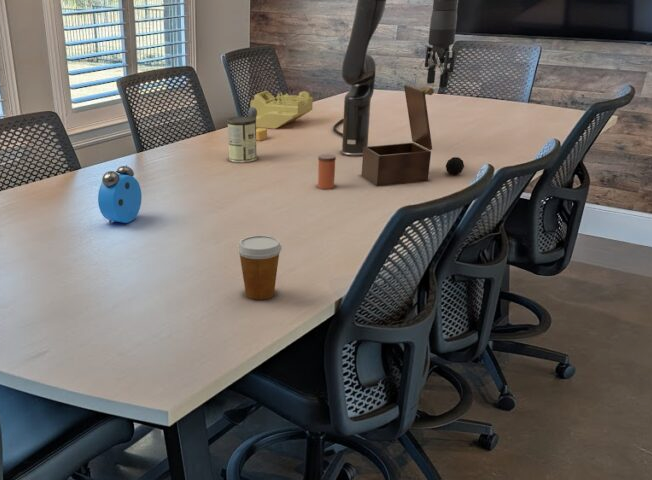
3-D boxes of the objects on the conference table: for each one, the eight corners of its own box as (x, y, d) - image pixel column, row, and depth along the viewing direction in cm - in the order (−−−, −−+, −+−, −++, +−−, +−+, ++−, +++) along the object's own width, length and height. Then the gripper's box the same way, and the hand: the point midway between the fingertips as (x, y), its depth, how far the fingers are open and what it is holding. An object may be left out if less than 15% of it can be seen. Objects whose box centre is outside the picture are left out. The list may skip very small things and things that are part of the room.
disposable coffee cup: (253, 282, 165) (252, 232, 159) (289, 290, 160) (289, 239, 154) (230, 297, 159) (228, 245, 152) (266, 306, 154) (266, 253, 148)
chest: (376, 186, 228) (378, 156, 223) (361, 175, 239) (363, 146, 234) (427, 181, 230) (431, 151, 226) (410, 170, 241) (413, 142, 237)
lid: (422, 91, 215) (439, 85, 216) (403, 85, 227) (420, 79, 227) (430, 150, 225) (446, 144, 225) (412, 141, 236) (427, 135, 237)
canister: (315, 185, 231) (316, 155, 226) (331, 183, 232) (332, 153, 227) (320, 189, 226) (321, 159, 221) (336, 188, 227) (338, 157, 222)
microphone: (451, 170, 251) (447, 178, 234) (448, 153, 249) (443, 160, 232) (468, 166, 249) (464, 173, 232) (464, 149, 247) (461, 155, 230)
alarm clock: (127, 213, 213) (122, 162, 205) (144, 215, 210) (139, 164, 203) (100, 226, 203) (93, 173, 196) (118, 229, 201) (111, 175, 193)
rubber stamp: (239, 138, 293) (238, 107, 287) (247, 135, 297) (246, 104, 291) (259, 140, 288) (258, 109, 281) (267, 138, 292) (267, 106, 285)
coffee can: (235, 155, 269) (234, 115, 262) (260, 156, 265) (260, 116, 258) (224, 161, 261) (222, 121, 254) (250, 163, 257) (249, 122, 250)
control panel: (244, 92, 304) (265, 80, 317) (242, 129, 314) (262, 116, 328) (296, 104, 296) (315, 91, 309) (291, 142, 306) (310, 128, 320)
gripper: (466, 28, 208) (458, 88, 217) (443, 24, 220) (437, 81, 229) (442, 29, 207) (435, 89, 215) (420, 25, 219) (415, 82, 227)
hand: (436, 85), depth 222 cm, fingers open, 8 cm apart
